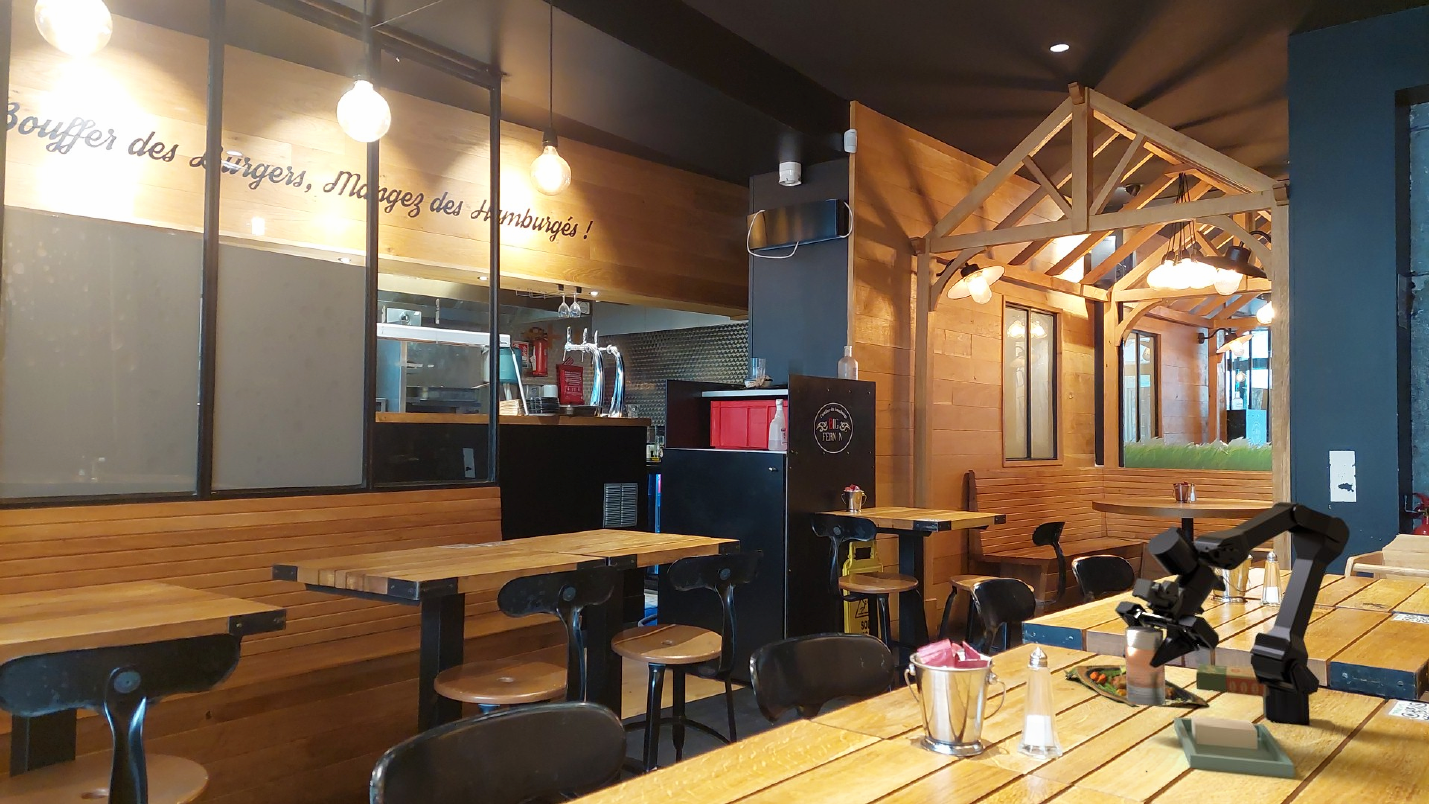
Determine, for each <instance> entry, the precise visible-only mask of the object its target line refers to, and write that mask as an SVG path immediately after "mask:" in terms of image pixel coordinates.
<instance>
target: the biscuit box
mask: <svg viewBox="0 0 1429 804" xmlns="http://www.w3.org/2000/svg"><path fill="white" fill-rule="evenodd" d="M1190 718H1191V720H1192V735H1193V737H1194V739H1195V741H1196V743H1197V744H1206V745H1217V746H1228V747H1239V748H1250V749H1258V744H1257V730H1256V728H1255V727H1254V725H1253V724H1254V723H1252V720H1246V719H1235V718H1233V719H1232V718H1222V717H1209V716H1199V715H1191V717H1190Z"/></svg>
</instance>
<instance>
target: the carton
mask: <svg viewBox="0 0 1429 804" xmlns="http://www.w3.org/2000/svg"><path fill="white" fill-rule="evenodd" d="M1195 676H1196V677H1195V684H1196V686H1195V687H1196V690H1201V691H1210V690H1213V691H1212V692H1220V693H1221V692H1222V693H1228V694H1229V693H1230V694H1239V695H1249V696H1257V697H1263V693H1266V685H1264V684H1258V682H1257V679H1256V676H1255V673H1254V670H1253V667H1252V668H1250V667H1240V666H1239V667H1238V666H1230V665H1229V666H1228V665H1227V666H1226V665H1216V664H1204V663H1198V666H1197V670H1196V675H1195Z"/></svg>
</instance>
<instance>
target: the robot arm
mask: <svg viewBox="0 0 1429 804" xmlns="http://www.w3.org/2000/svg"><path fill="white" fill-rule="evenodd" d="M1285 532H1288V533H1289V534H1291V535H1292V539H1291V543H1292V546H1293V548H1294V553H1295V555H1296V557H1295V561H1294V563H1293V566H1292V570H1291V573H1290V575H1289V578H1288V582H1287V585H1286V588H1285V592H1284V594H1283V598H1282V600H1281V603H1280V606H1279V609H1278V612H1277V614H1276V617H1275V618H1276V619H1275V621H1274V624H1273V626H1272V629H1270V630H1269V631H1267V632H1266V633H1263V632H1257V634H1256V635H1255V638H1254V643H1253V646H1252V648H1251V649H1250V650H1249V654H1251V657H1250V665H1251V666H1252V669H1253V670H1254V673H1255V676H1256V679H1257V682H1258V684H1264V685H1266V693H1263V696H1262V709H1263V711H1262V712H1263V716H1264V717H1265V719H1266V720H1268V721H1270V723H1272V724H1280V725H1281V724H1283V725H1292V726H1305V727H1313V724H1312V723H1311V721H1310V720H1311V719H1310V695H1313V694H1314V693H1318V689H1319V686H1320V679H1318V677H1317V676H1316V675H1315V674H1314V673H1313V672H1312V670H1311V669H1310V668H1309V667H1308V660H1309V653H1308V648H1307V646H1306V642H1305V635H1306V632H1307V628H1308V627H1309V623H1310V620H1311V618H1312V614H1313V610H1314V608H1315V604H1316V601H1317V598H1318V595H1319V592H1320V589H1321V586H1322V583H1323V579H1324V576H1325V573H1326V571H1327V568H1328V566H1329V565H1330V564H1332V563H1333V562H1334V561H1336V560H1337V559H1338V558H1339V557H1340V556H1341V555H1342V554H1343V552H1344V550H1345V548H1346V545H1347V543H1348V541H1349V539H1350V535H1351V533H1350V528H1349V526H1348V525H1347V524H1346V522H1345V520H1343V519H1342V518H1341V517H1338V516H1331V515H1329V514H1326V513H1324V512H1321V511H1317V510H1314V509H1312V508H1310V507H1308V506H1307V505H1304V504H1302V503H1300V502H1287V501H1280V502H1277V503H1274V504H1273V505H1272V506H1271V507H1270V508H1268V509H1266V510H1264V511H1262V512H1261V513H1258V514H1257V515H1255V516H1253V517H1250V518H1249V519H1247V520H1245V521H1243V522H1242V523H1239V524H1238V525H1236V526H1234V527H1232V528H1229V529H1225V530H1216V531H1212V532H1211V531H1210V532H1208V533H1204V534H1200V535H1198V536H1197V537H1196V538H1194V540H1193V541H1191V540H1190V539H1189V538H1188V536H1187V535H1186V533H1185V531H1184V530H1183V529H1182V528H1181V527H1180V526H1172V525H1170V527H1169V528H1168V529H1167V530H1165V531H1162V532H1160V533H1158V534H1156V535H1155V536H1153V537H1151V539H1150V540H1149V541H1148V543H1147V548H1146V549H1147V552H1149V553H1150V554H1151V556H1152V558H1154V560H1156V561H1157V563H1158V564H1159V565H1160V566H1161V567H1162V569H1163V570H1164V571H1165V572H1166V573H1167V574H1168V575H1171V576H1177V577H1175V578H1174V581H1171V580H1167V579H1165V580H1163V581H1162V582H1157V581H1154V580H1150V579H1144V578H1136V581H1135V583H1134V587H1133V590H1132V593H1131V596H1132V597H1133V598H1138V599H1141V600H1142V601H1144V602H1146V604H1145V606H1146V608H1148V609H1149V610H1150V611H1152V612H1151V613H1149V612H1148V611H1147V610H1146V609H1145V607H1143V606H1142V604H1140V603H1137V602H1132V601H1127V600H1123V601H1120V602H1119V603H1118V604H1117V606H1116V608H1115V609H1114V611H1115V613H1116V614H1117V615H1118V616H1119V617H1120V618H1121V619H1122V621H1124V623H1125V624H1126V625H1127V627H1133V626H1142V627H1153V628H1158V629H1161V630H1166V633H1165V634H1166V635H1165V637H1164V638H1163V642H1162V644H1161V646H1160V647H1159V649H1158V650H1157V652H1156V654H1155V655H1154V657H1153V659H1152V661H1151V665H1152V667H1153V668H1157V667H1159V666H1161V665H1163V664H1167V663H1170V662H1173V660H1175V659H1178V658H1180V657H1182V656H1185V655H1188V654H1190V653H1192V652H1199V651H1200V650H1201V649H1203V650H1206V651H1211V652H1214V651H1215V650H1216V648H1217V647H1218V645H1219V643H1220V635H1219V633H1218V632H1217V631H1216V630H1215V629H1214V628H1213V626H1212V625H1211V624H1210V623H1209V621H1207V620H1206V618H1205V617H1203V616H1202V615H1203V614H1204V613H1205V611H1206V610H1205V609H1204V608H1203V607H1202V606H1203V604H1204V602H1205V601H1206V600H1207V598H1208V597H1209V595H1210V594H1211V593H1212V591H1218V592H1227V587H1226V583H1225V581H1224V576H1223V575H1222V574H1217V573H1216V572H1215V571H1214V570H1213V569H1217V570H1218V569H1219V570H1224V571H1225V570H1226V571H1233V570H1236V569H1237V568H1239V567H1240V566H1241V565H1242V564H1243V563H1245V562H1246V561H1247V560H1248V559H1249V557H1250V553H1251V552H1252V551H1253V550H1254V549H1256V548H1257V547H1259V546H1262V544H1263V545H1264V543H1267V542H1268V541H1270V540H1272V539H1274V538H1276V537H1277V536H1279V535H1281V534H1283V533H1285ZM1198 615H1200V616H1198ZM1122 657H1123V659H1125V660H1126V658H1125V647H1124V649H1123V653H1122Z"/></svg>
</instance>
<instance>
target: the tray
mask: <svg viewBox="0 0 1429 804" xmlns="http://www.w3.org/2000/svg"><path fill="white" fill-rule="evenodd" d="M1252 724H1253V725H1254V727H1255V728H1256V730H1257V744H1258V749H1250V748H1239V747H1228V746H1217V745H1206V744H1197V743H1196V741H1195V739H1194V737H1193V735H1192V720H1191V717H1190V718H1188V717H1177V716H1174V717H1173V727H1174V728H1173V729H1174V731H1175V734H1176V736H1177V738H1178V741H1179V743H1180V746H1181V748H1182V751H1183V754H1184V755H1185V758H1186V761H1187V762H1188V764H1189V768H1190V769H1197V770H1207V771H1217V772H1218V771H1219V772H1227V773H1235V774H1246V775H1247V774H1248V775H1258V776H1265V777H1268V776H1269V777H1276V778H1277V777H1278V778H1287V779H1295V765H1294V763H1293V762H1292V760H1291V758H1289V757H1288V755H1287V754H1286V752H1285V751H1284V750H1283V748H1282V747H1281V746H1280V744H1279V742H1278V741H1277V740H1276V739H1275V737H1274V736H1273V735H1272V733H1271V731H1270V730H1269V729H1268V728H1267V727H1266V725H1265V724H1262V723H1252Z"/></svg>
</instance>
